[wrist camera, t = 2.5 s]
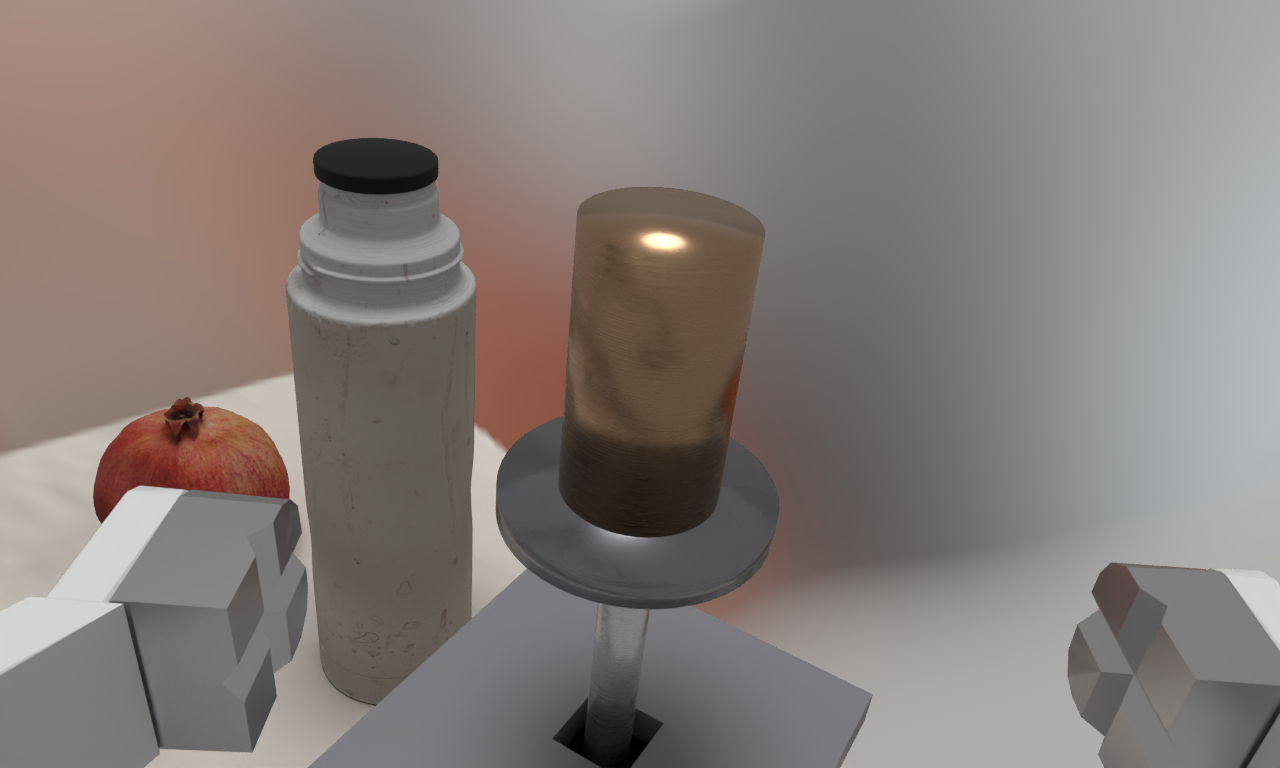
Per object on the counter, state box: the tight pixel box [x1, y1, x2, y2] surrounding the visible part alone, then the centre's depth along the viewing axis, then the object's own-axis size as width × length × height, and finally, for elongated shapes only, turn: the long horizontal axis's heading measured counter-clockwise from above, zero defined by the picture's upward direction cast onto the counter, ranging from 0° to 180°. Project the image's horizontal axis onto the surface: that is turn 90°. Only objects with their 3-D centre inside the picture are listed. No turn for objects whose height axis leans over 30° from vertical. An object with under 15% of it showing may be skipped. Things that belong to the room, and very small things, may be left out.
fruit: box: [93, 397, 290, 524], centre depth 57 cm, size 11×10×10 cm
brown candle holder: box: [496, 187, 779, 768], centre depth 26 cm, size 10×10×19 cm
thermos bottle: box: [286, 138, 476, 704], centre depth 47 cm, size 8×8×28 cm
